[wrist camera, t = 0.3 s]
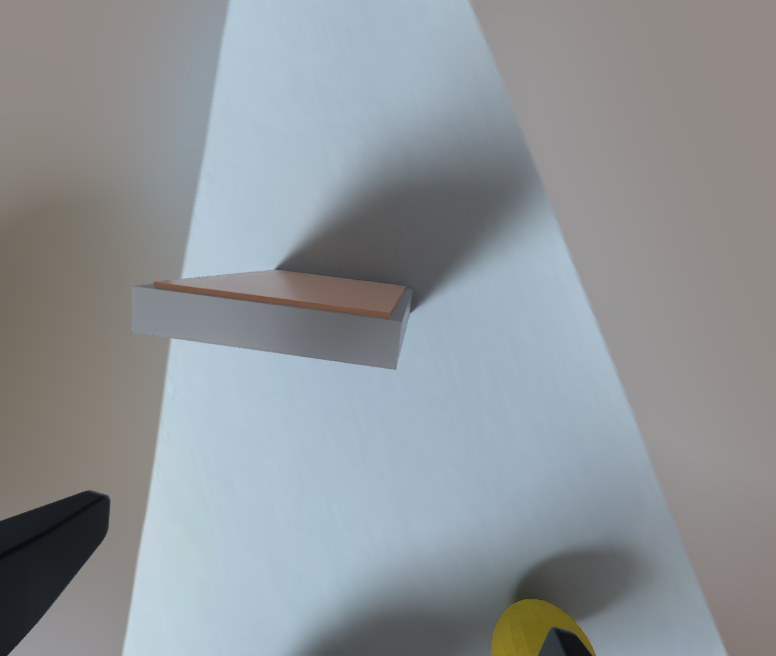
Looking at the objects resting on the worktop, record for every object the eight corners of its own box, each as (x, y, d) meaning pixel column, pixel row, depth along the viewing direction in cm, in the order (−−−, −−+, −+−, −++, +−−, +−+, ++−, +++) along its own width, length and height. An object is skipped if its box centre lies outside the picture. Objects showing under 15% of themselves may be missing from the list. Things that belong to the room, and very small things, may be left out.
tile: (409, 313, 22) (395, 369, 11) (271, 295, 23) (132, 332, 12) (413, 286, 22) (402, 316, 11) (273, 268, 22) (131, 280, 12)
